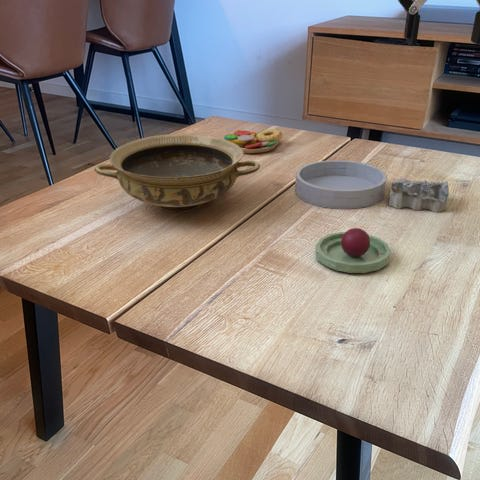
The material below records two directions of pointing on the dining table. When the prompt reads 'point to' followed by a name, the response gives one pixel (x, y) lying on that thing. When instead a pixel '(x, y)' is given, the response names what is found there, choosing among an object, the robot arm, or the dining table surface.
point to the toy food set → (255, 140)
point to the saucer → (337, 259)
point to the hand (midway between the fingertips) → (443, 43)
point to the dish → (340, 184)
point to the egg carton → (419, 195)
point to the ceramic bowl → (177, 169)
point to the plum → (355, 242)
